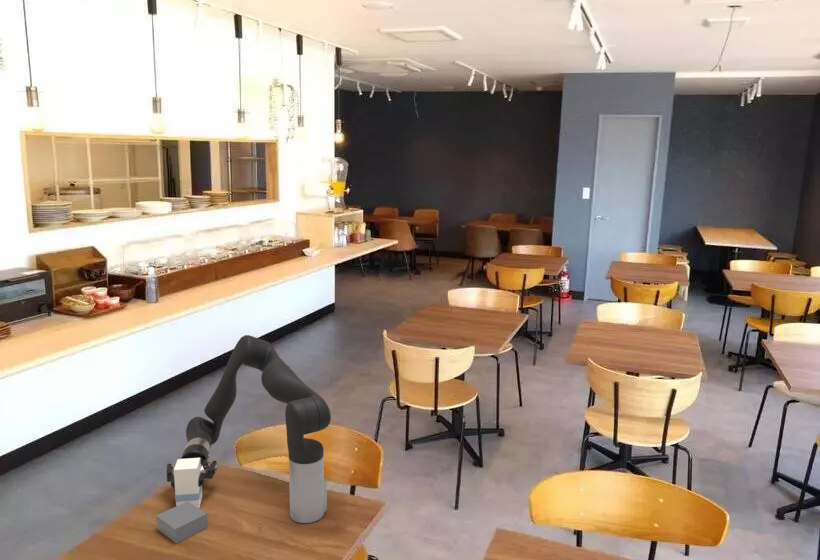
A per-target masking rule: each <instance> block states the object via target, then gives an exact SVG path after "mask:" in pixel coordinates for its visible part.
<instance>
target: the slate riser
mask: <svg viewBox="0 0 820 560" xmlns="http://www.w3.org/2000/svg"><path fill="white" fill-rule="evenodd" d="M155 517H156V518H155V519H156V529H157V530H158V531H159V532H160V533H161V534H162V535H164V537H165V536H166V538H168V539H170V540H171V541H172V542H173V543H174V544H178V543H180V542H182V541H184V540H187V539H188V538H190V537H192V536H194V535H196V534H197V533H200V532H201V531H204V530H206V529H208V514H207V512H205V511H204V510H202V509H200V508H197V507H196V506H194V505H193V504H191V503H190V502H188V501H187V502H185V503H182V504H180V505H178V506H174V507H172V508H169V509H168V510H165V511H163V512H161V513H159V514H157V515H155Z"/></svg>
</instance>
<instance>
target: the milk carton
mask: <svg viewBox="0 0 820 560" xmlns="http://www.w3.org/2000/svg"><path fill="white" fill-rule="evenodd" d="M174 466H175V468H174V481H175V489H174V494H175V496H174V497H175V498H174V499H175V505H176V506H178V505H180V504H182V503H185V502H187V501H188V502H190V503H191V504H193V505H194V506H196V507H197V508H199V509H200V508H201V507H200V506H201V503H202V499H203V485H201V487H198V479H199V475H200V473H201V472H200V471H201V464H200V458H188V459H181V458H178V459H177V460H176V462H175V465H174ZM176 506H175V507H176Z"/></svg>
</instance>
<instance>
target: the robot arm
mask: <svg viewBox="0 0 820 560" xmlns="http://www.w3.org/2000/svg"><path fill="white" fill-rule="evenodd" d="M242 365H243V366H246V367H250V368H253V369H256V370H258V371H260V372H262V373H261V378H260V380H261V384H262V387H263V388H264V389H265V391H266V392H267V393H268V394H269V396H271V397H272V398H273V399H274V400H276V401H278V402H280V403H283V404H286V406H285V410H284V412H285V413H284V414H285V427H286V429H285V430H286V443H287V451H288V481H289V482H288V487H289V488H288V489H289V490H288V491H289V517H290V518H291V520H293V521H294V522H296V523H299V524H310V523H314V522H317V521H319V520H320V519H322V518H323V516H324V515H325V513H326V512H327V511H328V489H327V487H328V485H327V482H328V480H327V478H325V477H324V476H325V475H324V474H325V466H324V463H325V461H324V457H325V456H324V446H323V444H322V443H321V441H319V440H316V439H314V438H307V437H305V435H308V434H309V435H310V434H312V433H317V432H321V431H323V430H325V429H326V428H328V427H329V425H330V424H331V421H332V416H331V410H330V408H329V405H328V404H327V402H326V400H325V399H324V398H323V397H322V395H320V394H318V393H317V392H316V391H314V390H313V389H312V388H310V387H309V385H307V384H306V383H305V382H304V381H303V380H301V378H300V377H298V375H297V374H296V373H295V372H294V370H293V369H292V368H291V367H290V366H288V364H287V363H286V362H285V361H284V360H283V359H282V358H280V355H279V354H278V353H277V350H276V349H275V348H274V347H273V345H272V344H271V343H270V342H269V341H267V340H265V339H261V338H258V337H256V336H253V335H250V334H249V335H248V334H246V335H242V336H241V337H240V338H239V340H238V341H237V342H236V345H235V346H234V348H233V351H232V352H231V355H230V357H229V359H228V361H227V364H226V366H225V368H224V371H223V373H222V376H221V379H220V380H219V383H218V385H217V387H216V388H215V390H214V392H213V394H212V395H211V397H210V398H209V400H208V401H207V403H206V405H205V408H204V414H205V415H206V417H208V419H210V420H211V421H210V420H208V419H205V418H204V417H202V416H195V417H193V418H191V419H190V420H189V421H188V423H187V425H186V429H185V435H186V436H185V437H186V440H187V443H186V445H185V447H184V448H183V452H182V455H181V458H180V459H188V458H200V464H201V471H200V472H201V473H200V475H199V479H198V487H201V485H202V486H204V484H205V483H206V482H205V481H206V480H207V479H209V480H211V479H214V476H215V474H216V472H217V470H218V461H217V460H213V461H212V462H210V463H209V459H210V454H211V447H212V445H214V444H215V443H216V442H217V441H218V440H219V438H220V435H221V431H222V426H223V423H224V420H225V419H226V416H227V414H228V413H229V412H230V410H231V408H232V406H233V404H234V403H235V401H236V398H237V375H238V372H239V370H240V369H241V366H242ZM174 468H175V465H172V463H167V464H166V472H165V473H166V482H167V483H169V482H170V487H171V488H172V490H175V481H174ZM206 470H207V471H206Z"/></svg>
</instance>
